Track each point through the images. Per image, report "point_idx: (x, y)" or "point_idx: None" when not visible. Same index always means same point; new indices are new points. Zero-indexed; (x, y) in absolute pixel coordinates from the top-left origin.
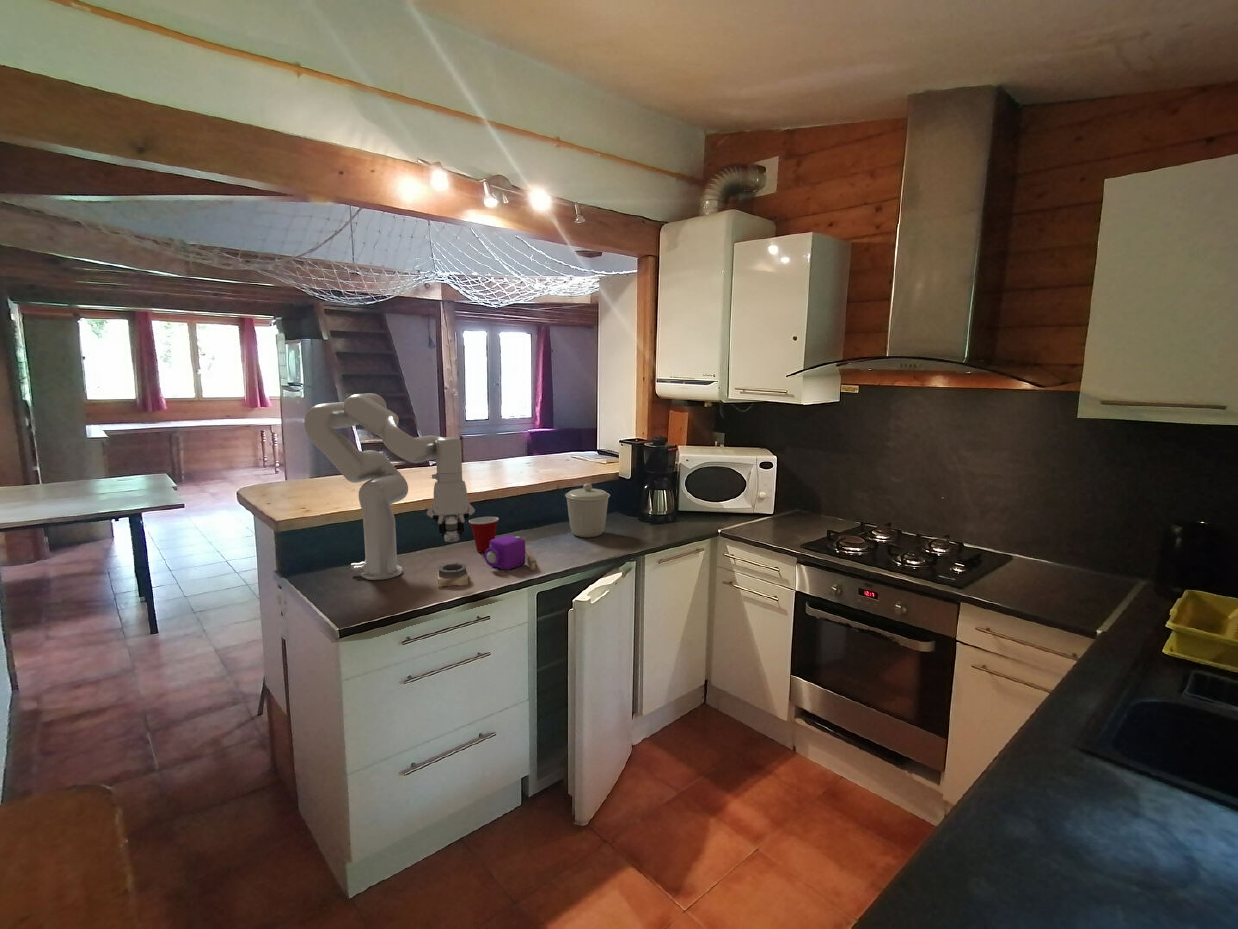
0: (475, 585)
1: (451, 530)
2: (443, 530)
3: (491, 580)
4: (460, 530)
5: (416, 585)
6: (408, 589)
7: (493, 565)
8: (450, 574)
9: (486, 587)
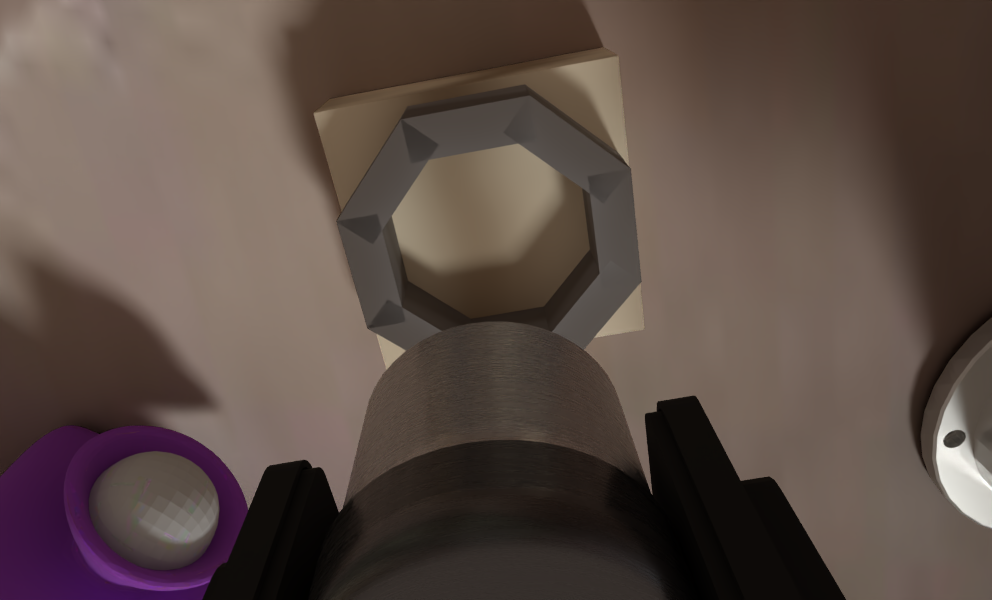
0: (255, 78)
1: (474, 467)
2: (689, 491)
3: (141, 202)
4: (271, 532)
5: (804, 117)
6: (876, 11)
7: (166, 436)
8: (490, 96)
9: (129, 11)
